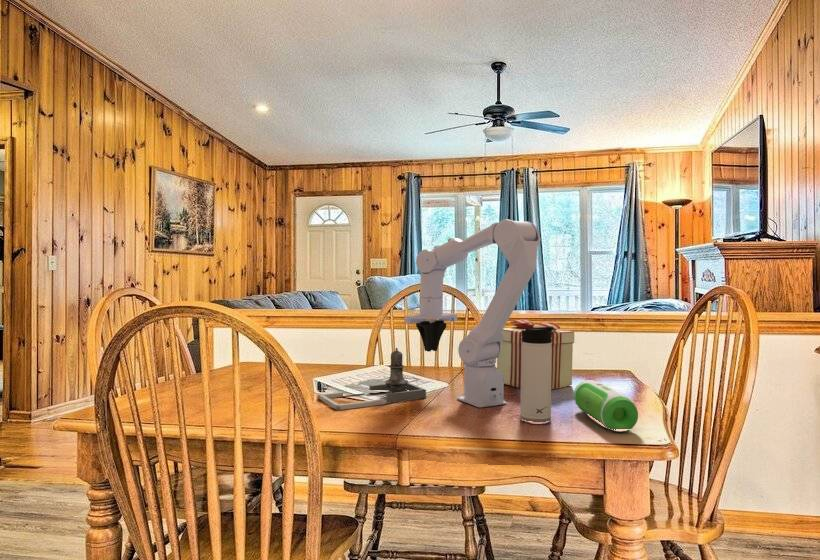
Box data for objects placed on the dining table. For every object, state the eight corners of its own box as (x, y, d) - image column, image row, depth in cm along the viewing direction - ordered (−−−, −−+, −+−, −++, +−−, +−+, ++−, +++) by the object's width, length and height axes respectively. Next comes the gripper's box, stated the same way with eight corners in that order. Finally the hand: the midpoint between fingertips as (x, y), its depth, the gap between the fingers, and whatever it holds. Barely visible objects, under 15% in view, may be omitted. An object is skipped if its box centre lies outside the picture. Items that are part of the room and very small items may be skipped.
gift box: (581, 384, 156) (582, 321, 156) (539, 394, 144) (540, 326, 144) (531, 374, 169) (532, 316, 169) (489, 383, 157) (489, 320, 157)
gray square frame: (385, 403, 134) (385, 399, 134) (337, 410, 128) (337, 405, 128) (364, 393, 144) (364, 389, 144) (318, 398, 139) (318, 394, 139)
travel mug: (546, 426, 116) (548, 328, 116) (515, 421, 120) (517, 326, 119) (556, 419, 122) (557, 325, 121) (526, 414, 125) (527, 323, 124)
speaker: (571, 411, 129) (571, 378, 129) (602, 411, 129) (603, 377, 129) (604, 435, 111) (604, 397, 111) (640, 434, 112) (641, 396, 112)
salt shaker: (408, 398, 139) (408, 349, 139) (383, 398, 139) (384, 349, 139) (408, 393, 145) (408, 345, 145) (385, 392, 145) (385, 345, 145)
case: (426, 397, 140) (426, 389, 140) (387, 402, 135) (387, 394, 135) (405, 389, 149) (405, 381, 149) (369, 393, 144) (369, 385, 144)
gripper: (447, 295, 153) (446, 346, 154) (398, 297, 146) (398, 350, 147) (462, 297, 147) (461, 350, 147) (412, 299, 140) (411, 354, 141)
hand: (430, 350), depth 147 cm, fingers closed
